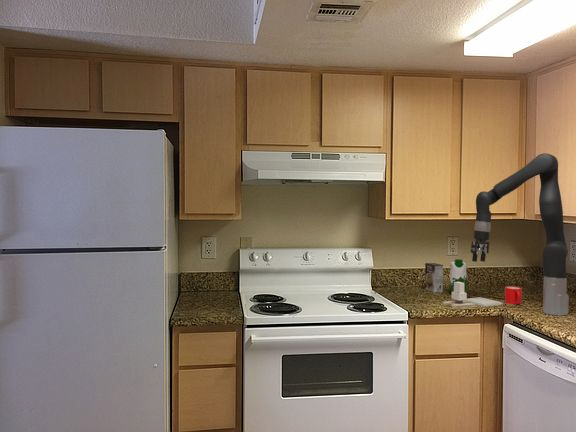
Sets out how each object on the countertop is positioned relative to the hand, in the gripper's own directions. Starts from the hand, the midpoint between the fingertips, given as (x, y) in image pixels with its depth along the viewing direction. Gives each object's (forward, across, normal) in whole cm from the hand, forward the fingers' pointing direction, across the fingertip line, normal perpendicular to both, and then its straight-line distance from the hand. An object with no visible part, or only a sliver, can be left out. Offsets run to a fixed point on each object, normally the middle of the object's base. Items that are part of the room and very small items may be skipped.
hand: (478, 261), depth 224 cm
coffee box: (+23, +13, +32) cm, 41 cm away
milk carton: (+22, +15, +17) cm, 32 cm away
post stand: (+23, -11, +2) cm, 25 cm away
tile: (+21, +4, -2) cm, 22 cm away
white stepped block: (+20, -11, +2) cm, 23 cm away
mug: (+20, +15, -14) cm, 29 cm away
